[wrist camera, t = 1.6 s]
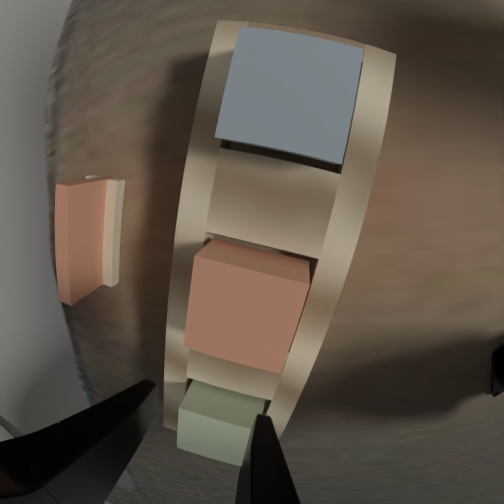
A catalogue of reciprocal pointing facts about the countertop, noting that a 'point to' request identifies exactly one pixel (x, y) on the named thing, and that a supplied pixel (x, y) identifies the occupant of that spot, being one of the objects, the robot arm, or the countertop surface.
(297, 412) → the countertop surface
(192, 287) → the terracotta button
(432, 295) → the countertop surface
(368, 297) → the countertop surface
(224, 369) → the button panel
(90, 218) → the terracotta sign
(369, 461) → the countertop surface
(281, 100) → the slate button
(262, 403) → the sage button
